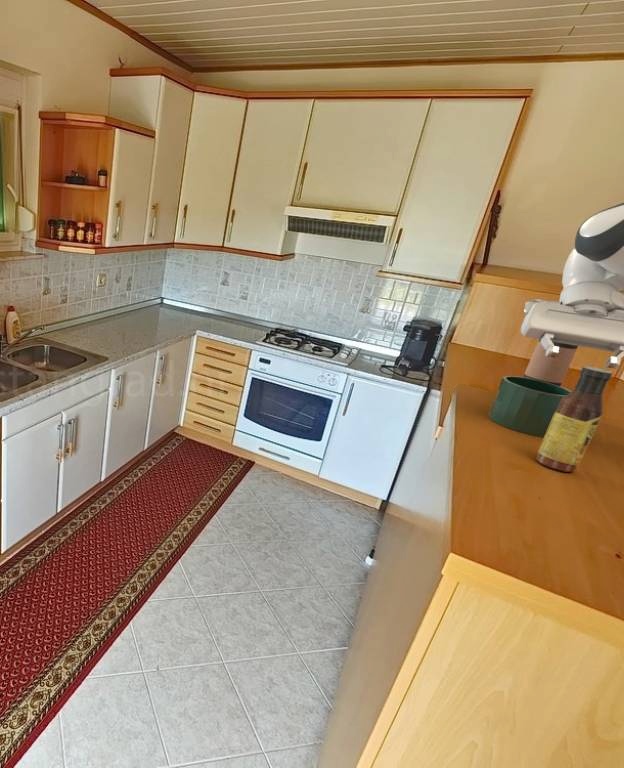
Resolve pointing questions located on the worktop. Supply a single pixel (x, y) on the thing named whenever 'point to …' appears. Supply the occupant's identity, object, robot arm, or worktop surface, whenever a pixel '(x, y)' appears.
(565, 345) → the travel mug
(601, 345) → the robot arm
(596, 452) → the worktop surface
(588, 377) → the sauce bottle
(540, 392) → the crock
